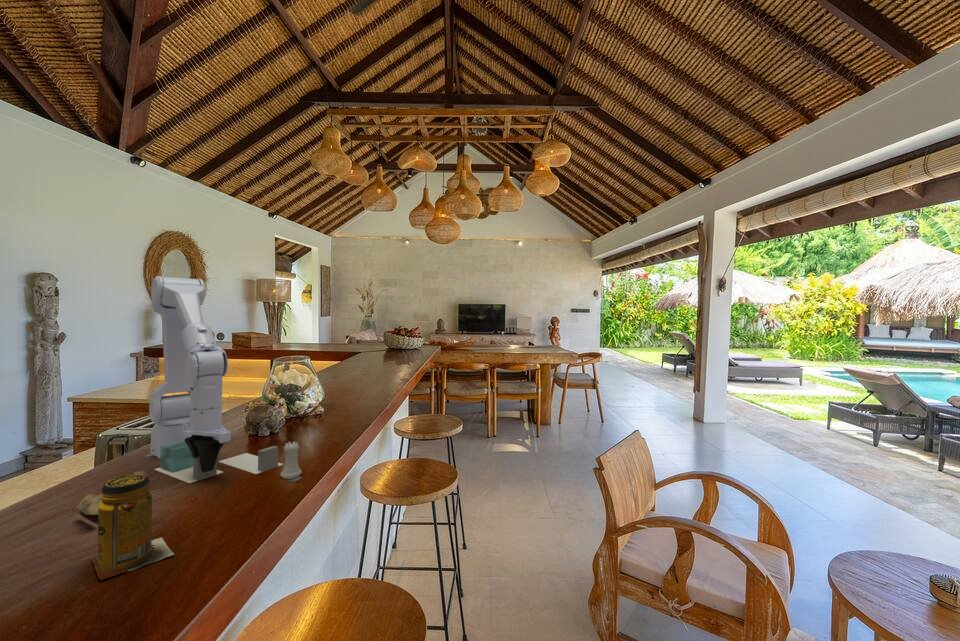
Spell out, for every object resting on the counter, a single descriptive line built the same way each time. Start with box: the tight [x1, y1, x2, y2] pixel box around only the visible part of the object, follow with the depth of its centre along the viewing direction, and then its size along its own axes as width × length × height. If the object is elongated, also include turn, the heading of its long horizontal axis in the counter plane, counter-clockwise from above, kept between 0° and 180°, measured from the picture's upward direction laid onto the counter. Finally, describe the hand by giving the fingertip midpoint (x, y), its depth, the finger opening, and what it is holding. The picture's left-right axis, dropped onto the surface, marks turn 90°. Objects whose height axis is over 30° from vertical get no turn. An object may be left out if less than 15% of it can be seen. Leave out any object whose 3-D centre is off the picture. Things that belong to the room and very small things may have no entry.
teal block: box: [159, 440, 193, 473], centre depth 94 cm, size 5×5×5 cm
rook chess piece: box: [280, 441, 303, 484], centre depth 92 cm, size 4×4×8 cm
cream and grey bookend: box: [217, 445, 284, 475], centre depth 98 cm, size 14×7×5 cm, turn 62°
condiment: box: [97, 474, 175, 572], centre depth 62 cm, size 7×8×12 cm
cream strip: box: [153, 456, 224, 484], centre depth 92 cm, size 14×7×5 cm, turn 62°
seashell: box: [75, 470, 149, 516], centre depth 77 cm, size 8×17×5 cm, turn 30°
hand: (205, 469), depth 90 cm, fingers closed on cream strip
